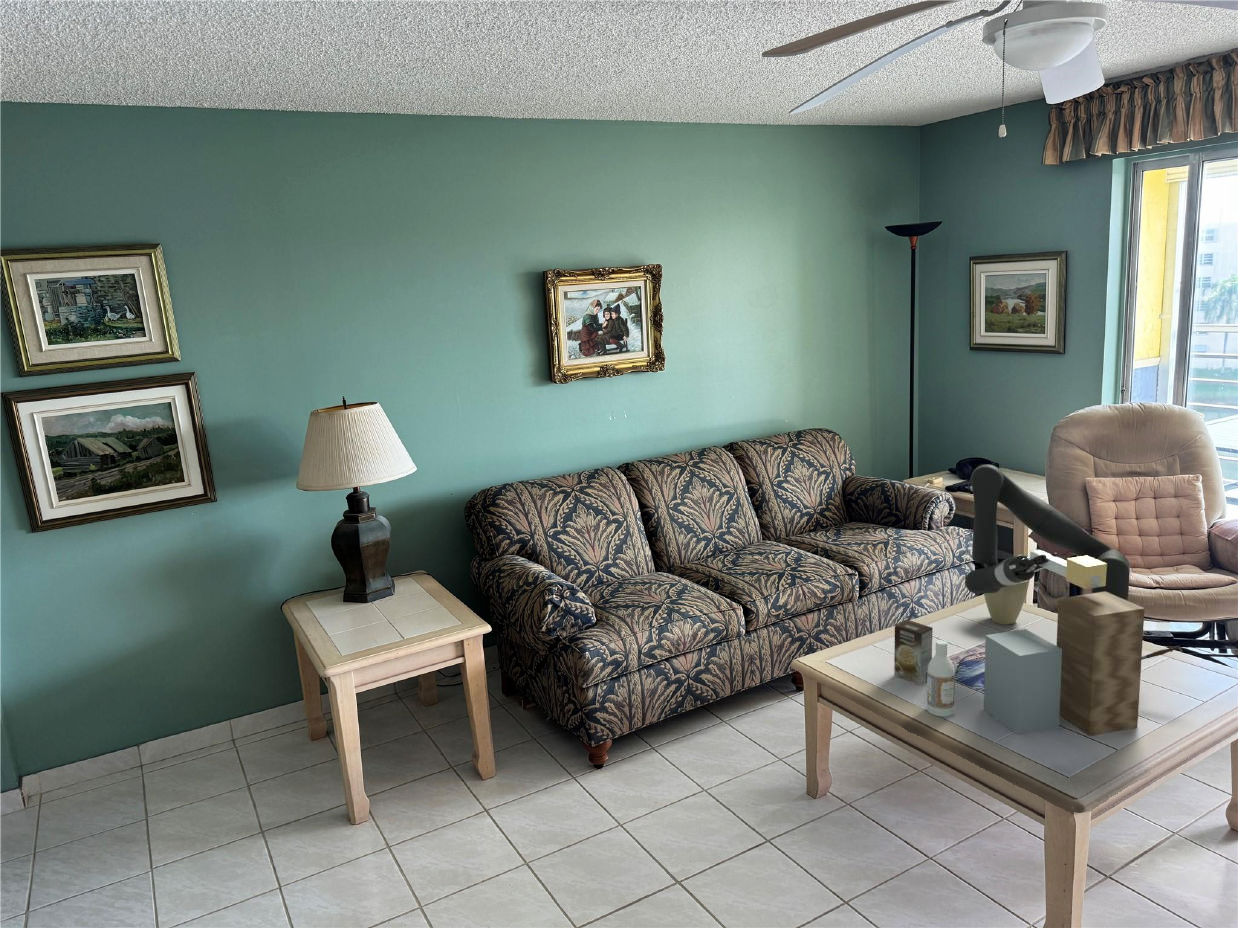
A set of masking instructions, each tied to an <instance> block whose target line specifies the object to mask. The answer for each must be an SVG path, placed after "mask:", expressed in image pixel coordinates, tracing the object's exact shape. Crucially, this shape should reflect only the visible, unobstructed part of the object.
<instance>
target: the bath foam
mask: <svg viewBox="0 0 1238 928" xmlns="http://www.w3.org/2000/svg"><path fill="white" fill-rule="evenodd" d="M926 683H927V685H926V688H927V689H926V693H927V694H926V702H927V703H926V709H927V711H928V713H929V714H930V715H933V716H935V717H940V718H946V717H947V718H948V717H950V716H953V715H954V713H955V703H956V702H955V701H956V699H955V698H956V697H955V695H956V693H955V692H956V668H955V665H954V663H953V661H952V660H951V658H950V657H949V655H948V642H947V641H946V640H941V639H940V640H939V639H938V640H936V641H935V654H934V655H933V656H932V659H931V661H930V662H929V665H928V670H927V681H926Z"/></svg>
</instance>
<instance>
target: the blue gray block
mask: <svg viewBox="0 0 1238 928" xmlns="http://www.w3.org/2000/svg"><path fill="white" fill-rule="evenodd" d="M984 643H985V645H984V646H985V647H984V649H985V650H984V685H983V686H984V687H983V688H984V689H983V690H984V691H983V692H984V693H983V711H985V712H986V713H987V714H988V715H990V717H991V716H992V718H994V719H995V720H997V721H998V722H999V723H1001V725H1003V726H1005V727H1006V728H1007V729H1008V730H1010V731H1011V732H1013V733H1014V734H1015V735H1017V736H1020V735H1024V734H1030V733H1031V734H1032V733H1037V732H1041V731H1049V730H1053V729H1057V728H1058V729H1059V727H1060V716H1059V713H1060V688H1061V664H1062V649H1061V648H1059V647H1057V644H1054V643H1052V642H1050V641H1049V640H1047V639H1045V638H1043V637H1041V636H1040V635H1037V634H1035V633H1034V632H1032V631H1030V630H1028V629H1026V628H1023V629H1016V630H1009V631H1004V632H997V633H992V634H986V635H985V641H984Z"/></svg>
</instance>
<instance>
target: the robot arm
mask: <svg viewBox="0 0 1238 928" xmlns="http://www.w3.org/2000/svg"><path fill="white" fill-rule="evenodd" d="M970 486H971V489H972V495H973V501H974V502H973V503H974V520H973V531H972V548H971V551H972V553H971V557H972V561H974V562H975V563H978V564H983V565H984V568H983V567H982V568H977V569H974V570H971V571H969V572H968V573H967V575H966V576H965V578H964V579H965V580H964V585H965V587H966V589H967V591H969V592H970V593H973V594H984V593H996V592H998V591H999V590H1000V589H1001V588H1003V587H1007V586H1010V585H1015V584H1018V583H1021V582H1024V581H1027V580H1031V579H1033V578H1034V576H1035V575H1036V572H1039V571H1041V570H1043V569H1045V568H1044V567H1042V566H1039V565H1040V564H1043V563H1046V562H1047V558H1046V555H1045V554H1043V555H1040V556H1037V557H1032V558H1031V557H1030V556H1027V555H1025V554H1017V555H1015V556H1012V557H1009V558H1007V559H1004V560H1002V561H1000V562H999V561H998V524H997V522H998V519H997V517H998V515H997V514H998V503H1000V504H1001V505H1002V506H1004V507H1005V508H1006V509H1008V510H1009V511H1010V512H1011V513H1012V514H1013V515H1014V516H1015V517H1016V519H1018V520H1019V521H1020V522H1021V523H1022V524H1023V525H1024V526H1025V527H1027V528H1028V529H1029V530H1031V531H1032V532H1033V533H1034V534H1036V535H1038V537H1040V538H1041V539H1043V540H1045V541H1047V542H1048V543H1050V544H1052V545H1054V546H1056V547H1058V548H1061V549H1064V550H1066V551H1068V552H1070V553H1072V554H1074V555H1075V556H1076V557H1080V556H1089V557H1092V558H1094V559H1097V560H1099V561H1102V562H1104V563H1107V570H1106V586H1103V587H1096V588H1091V594H1092V593H1098V592H1105V591H1106V592H1108V593H1110V594H1113V595H1115V596H1117V597H1119V598H1122V599H1124V600H1126V601H1129V591H1130V590H1129V589H1130V577H1131V576H1130V572H1131V571H1130V570H1131V569H1130V568H1131V567H1130V566H1131V565H1130V561H1129V560H1128V558H1127V556H1125V555H1124V554H1123V553H1122V552H1120V551H1118V550H1117V549H1115V548H1114V547H1112V546H1110V545H1108V544H1106V543H1104V542H1103V541H1101V540H1099V539H1098V538H1096V537H1094V535H1091V534H1090V533H1089V532H1087V531H1086V530H1085V529H1084V528H1082V527H1081V526H1080V525H1078V524H1077V523H1076V522H1074V521H1073V520H1071V519H1070V517H1067V516H1066V515H1065V514H1064V513H1063V512H1061V511H1060V510H1058V509H1056V508H1055V507H1054V506H1052V505H1051V504H1049V503H1047V502H1046V501H1044V500H1042V499H1041V498H1040V497H1038V496H1036V495H1034V494H1033V493H1030V492H1028V491H1027V490H1026V489H1023V488H1022V487H1020V486H1019V485H1018V484H1017V483H1015V482H1014V481H1013V480H1012V479H1011V478H1010V477H1009V476H1007V475H1006V474H1005V473H1004V472H1002V470H1001V469H999V467H997V466H995V465H993V464H981V465H979V466H977V467H976V468H975V469H974V470H973V472H972V473H971V475H970ZM1050 554H1051V555H1053V556H1056V557H1058V558H1060V557H1059V554H1058V552H1052V553H1050Z"/></svg>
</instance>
